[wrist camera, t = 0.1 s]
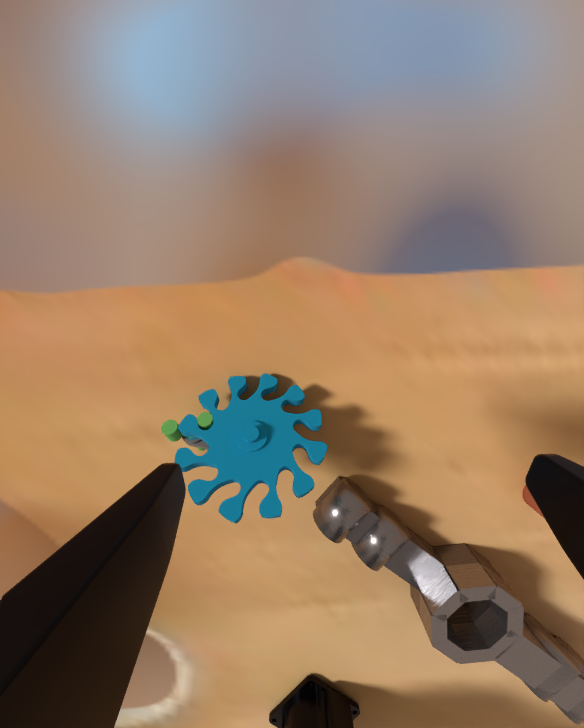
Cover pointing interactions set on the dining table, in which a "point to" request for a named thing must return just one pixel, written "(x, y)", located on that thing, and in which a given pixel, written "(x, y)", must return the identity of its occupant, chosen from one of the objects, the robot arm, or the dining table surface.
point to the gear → (247, 445)
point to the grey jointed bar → (457, 598)
